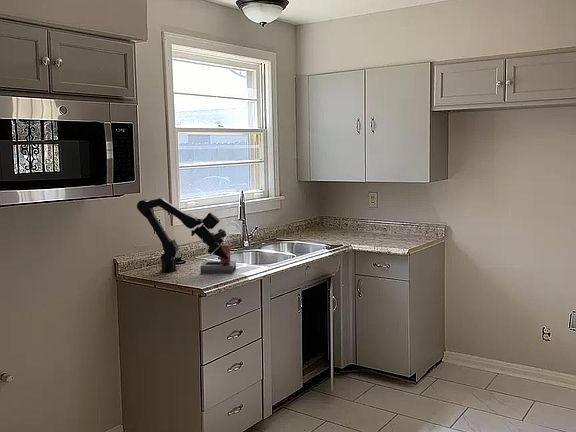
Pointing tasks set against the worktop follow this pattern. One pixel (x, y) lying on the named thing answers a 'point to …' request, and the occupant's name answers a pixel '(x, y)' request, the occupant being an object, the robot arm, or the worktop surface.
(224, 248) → the peg
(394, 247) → the worktop surface
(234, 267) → the keyhole plate
